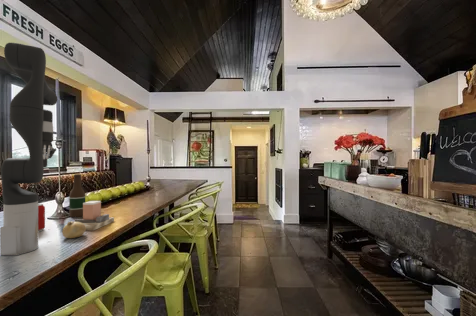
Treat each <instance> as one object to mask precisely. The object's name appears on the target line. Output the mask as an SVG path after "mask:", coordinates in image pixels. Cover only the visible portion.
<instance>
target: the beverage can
mask: <svg viewBox="0 0 476 316" xmlns="http://www.w3.org/2000/svg"><path fill="white" fill-rule="evenodd" d="M45 228H46V206H45V205H44V203H38V233H39V232H42V231H43V230H44V229H45Z"/></svg>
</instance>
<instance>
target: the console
mask: <svg viewBox="0 0 476 316" xmlns="http://www.w3.org/2000/svg"><path fill="white" fill-rule="evenodd" d="M73 221H74V222H81V223H83V224H84V225H85V227H86V230H85V231H90V232H91V231H95V230H98V229H100V228H102V227H105V226H107V225H109V224H111V223H114V222H115V217H113V216H112V217H110V214H107V213H106V214H101V216H99V217H97V218H96V221H95V220H86V219H83V218H82V219H81V218H79V219H78V218H77V219H76V218H75V219H74V220H73ZM66 225H67V224H65V225H64V226H63V228H64V227H65V226H66Z"/></svg>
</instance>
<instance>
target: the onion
mask: <svg viewBox="0 0 476 316" xmlns="http://www.w3.org/2000/svg"><path fill="white" fill-rule="evenodd" d="M65 225H66V226H65ZM65 225H64V226H65V227H64V226H63V228H62V231H61V232H62V236H63V237H64V238H65V239H75V238H79V237H83V235H84V234H85V232H86V231H87V230H86V227H85V225H84V224H83V223H81V222H74V220H73V221H72V220H70V221H68V222H67V223H66V224H65Z"/></svg>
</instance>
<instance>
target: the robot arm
mask: <svg viewBox="0 0 476 316" xmlns="http://www.w3.org/2000/svg"><path fill="white" fill-rule="evenodd" d="M3 52H4V59H5V62H6V63H7V65H8V67H9V68H10V69H11V70H12V71H13V72H14V73H15V74H16V75H17V76H18V77H20V79H21V80H22V81H23V82H24V83H25V86H24V87H23V88H22V89H21V90H20V91H19V92H17V94H16V95H14V97H13V98H12V99H11V101H10V104H9V122H10V124H11V126H12V127H13V128H14V130H15V132H17V134H18V135H19V136H20V138H22V140H23V141H24V143H25V144H26V147H27V149H28V154H29V157H12V158H11V157H8V158H6V159H4V160H3V161H2V164H1V166H0V177H1V178H0V179H1V191H2V192H1V193H2V201H3V204H2V205H3V218H2V219H3V223H2V224H3V226H1V227H0V256H19V255H22V254H26V253H30V252H33V251H35V250H37V249H38V248H39V232H38V204H39V195H38V193H37V192H34V191H29V190H26V189H24V188H22V187H20V184H21V185H22V184H38V183H40V182H41V181H42V180H43V177H44V171H45V168H47V167H48V159H51V158H52V157H53V156H54V154H55V153H56V151H57V148H55V147H53V143H52V142H54V123H53V112H52V111H51V110H49V109H45V108H44V106H54V105H56V104H57V103H58V96H57V94H56V92H55V91H54V90H53V89H52V88H50V86H48V83H47V81H46V79H45V78H46V77H45V76H46V68H47V67H46V66H47V59H46V53H45V51H44V49H43V48H42V47H38V46H34V45H29V44H24V43H18V42H6V44H5V46H4V50H3Z"/></svg>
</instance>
